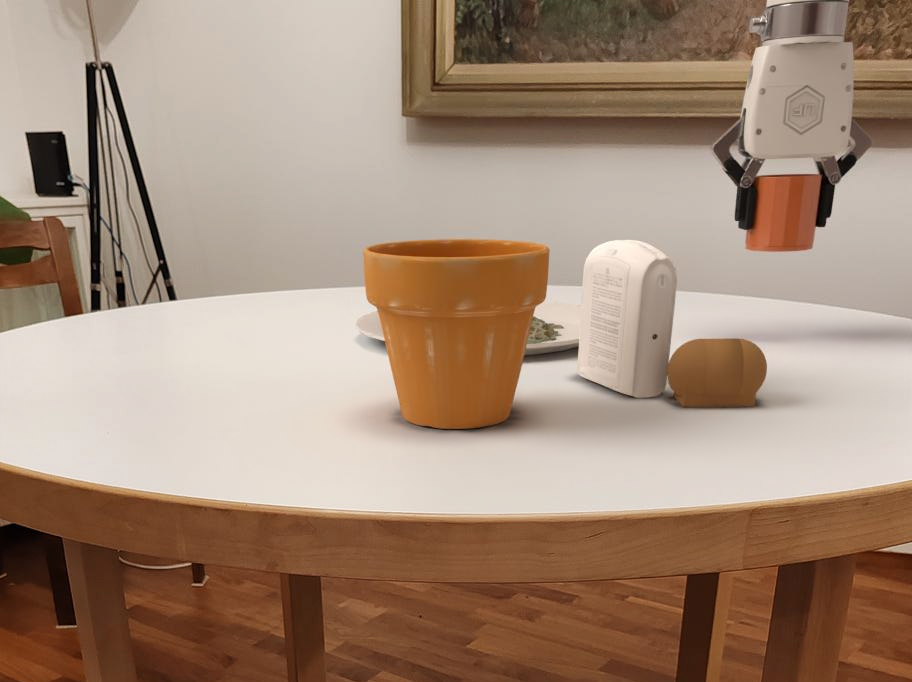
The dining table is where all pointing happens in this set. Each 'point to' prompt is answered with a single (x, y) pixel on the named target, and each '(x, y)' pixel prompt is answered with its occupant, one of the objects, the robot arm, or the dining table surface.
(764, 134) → the robot arm
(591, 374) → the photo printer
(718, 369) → the bread loaf
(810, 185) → the pot
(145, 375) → the dining table surface
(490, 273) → the flower pot
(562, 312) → the plated food
